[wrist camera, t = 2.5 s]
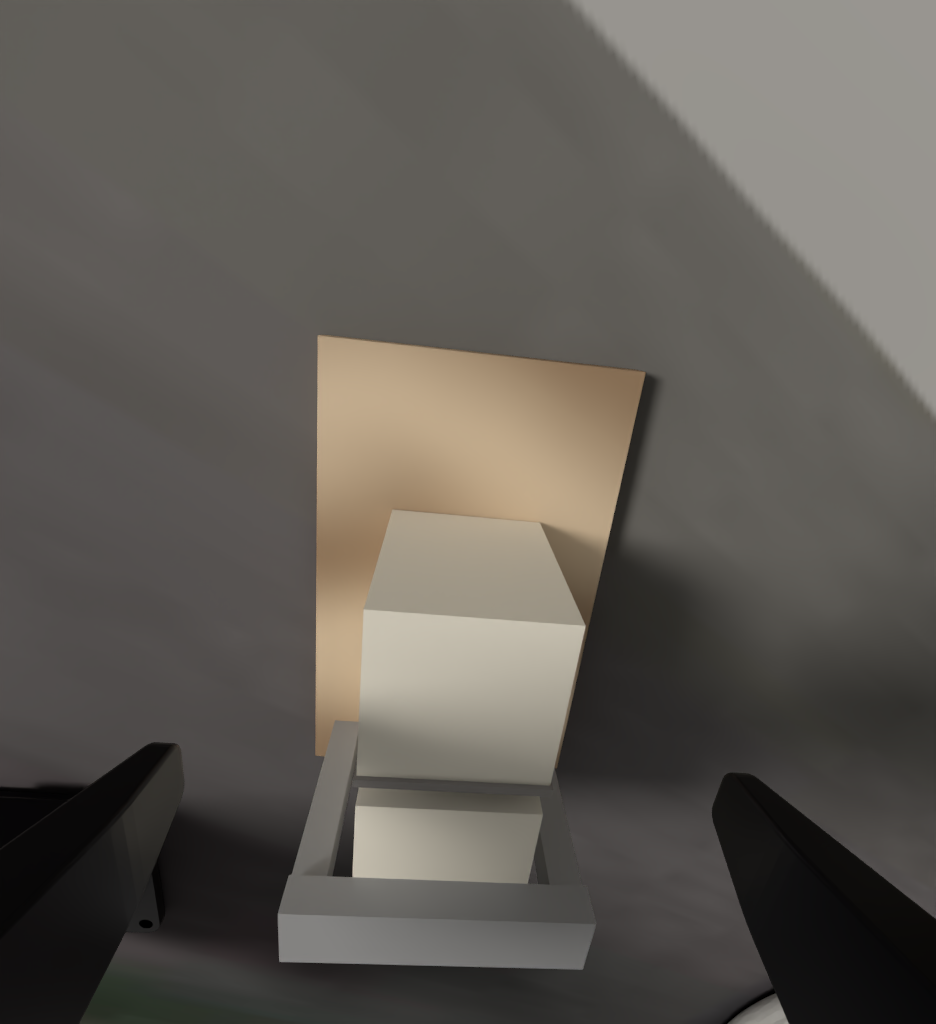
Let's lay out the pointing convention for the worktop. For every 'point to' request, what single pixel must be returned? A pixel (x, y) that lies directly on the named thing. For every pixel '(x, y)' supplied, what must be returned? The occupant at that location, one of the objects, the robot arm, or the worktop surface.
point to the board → (455, 472)
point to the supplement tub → (762, 1013)
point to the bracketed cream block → (434, 878)
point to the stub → (465, 658)
